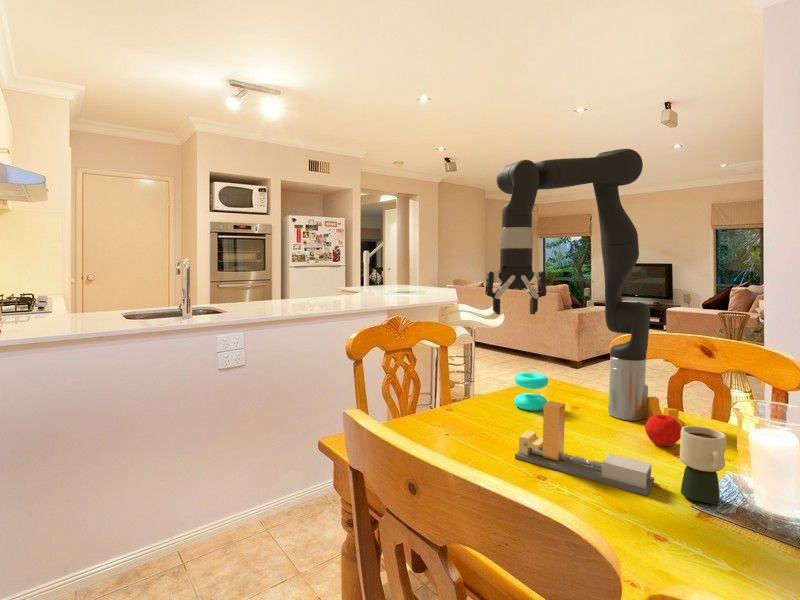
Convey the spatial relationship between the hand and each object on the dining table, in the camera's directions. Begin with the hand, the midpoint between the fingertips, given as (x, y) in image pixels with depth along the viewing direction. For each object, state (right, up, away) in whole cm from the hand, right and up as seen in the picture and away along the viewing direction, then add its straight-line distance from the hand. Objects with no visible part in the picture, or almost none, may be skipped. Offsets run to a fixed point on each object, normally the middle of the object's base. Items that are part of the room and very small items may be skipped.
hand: (515, 314), depth 110 cm
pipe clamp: (+44, -31, +14) cm, 56 cm away
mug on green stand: (+29, -34, -25) cm, 51 cm away
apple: (+36, -32, +1) cm, 48 cm away
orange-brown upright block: (+9, -32, -11) cm, 35 cm away
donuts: (+12, -30, +30) cm, 44 cm away
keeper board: (+11, -33, -12) cm, 37 cm away
